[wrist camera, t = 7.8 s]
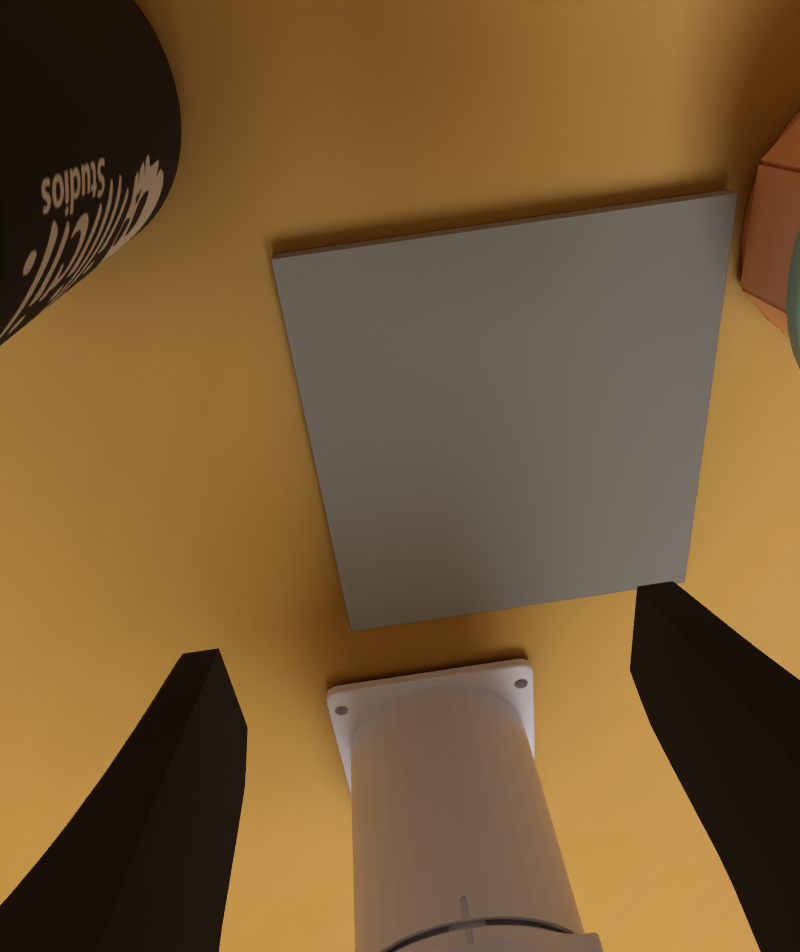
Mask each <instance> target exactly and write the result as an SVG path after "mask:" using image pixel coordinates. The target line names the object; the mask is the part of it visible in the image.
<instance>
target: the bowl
mask: <svg viewBox="0 0 800 952" xmlns="http://www.w3.org/2000/svg"><path fill="white" fill-rule="evenodd" d="M761 161H762V162H763V164H762V165H758V169H757V176H756V181H755V183H754V186H753V189H752V192H751V195H750V198H749V201H748V204H747V208H746V213H745V218H744V223H743V231H742V243H741V250H742V265H743V270H742V277H741V284H740V286H741V287H743V289H742V291H743V293H744V294H745V295H746V296H747V297H748V298H749V299H750V300H751V301H752V302H753V303H754V304H755V305H756V306H757V307H758V308H759V309H760V311H761V312H762V313H763V314H764V316H765V317H766V318H767V319H768V320H769V321H770V322H772V323H773V324H774V325H775V326H776V327H777V328H779V329H780V330H781V331H782V332H783V333H784V334H785V335H786V336H787V337H788V338H789V339H790V337H789V333H788V324H787V311H786V299H787V283H788V274H789V269H790V264H791V259H792V253H793V248H794V244H795V241H796V238H797V235H798V232H799V228H800V110H799V112H798V113H797V114H796V115H795V116H794V118H793V119H792V120H791V121H790V122H789V124H788V125H787V126H786V128H785V129H784V131H783V132H782V134H781V135H780V136H779V138H778V139H777V141H776V142H775V144H774V145H773V147H772V148H771V149H770V150H769V151H768V152H767V153H766V154H765V156H764V157H763V158H762V159H761Z"/></svg>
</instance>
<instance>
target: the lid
mask: <svg viewBox="0 0 800 952" xmlns="http://www.w3.org/2000/svg"><path fill="white" fill-rule="evenodd" d="M786 311H787V324H788V333H789V337H790V342H791V346H792V350H793V354H794V357H795V359H796V361H797V364H798V366H799V368H800V228H799V232H798V235H797V238H796V241H795V244H794V248H793V253H792V259H791V264H790V269H789V274H788V283H787V299H786Z"/></svg>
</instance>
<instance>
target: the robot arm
mask: <svg viewBox="0 0 800 952" xmlns="http://www.w3.org/2000/svg"><path fill="white" fill-rule="evenodd" d="M630 672H631V674H632V677H633V680H634V682H635V685H636V688H637V691H638V693H639V696H640V699H641V701H642V704H643V706H644V709H645V711H646V714H647V717H648V719H649V722H650V724H651V726H652V728H653V730H654V732H655V734H656V736H657V738H658V740H659V742H660V744H661V746H662V748H663V750H664V752H665V754H666V756H667V758H668V760H669V761H670V763H671V765H672V767H673V769H674V771H675V773H676V775H677V777H678V779H679V781H680V782H681V784H682V786H683V788H684V790H685V792H686V794H687V796H688V798H689V799H690V801H691V803H692V805H693V807H694V809H695V811H696V813H697V815H698V817H699V818H700V820H701V822H702V824H703V826H704V828H705V830H706V832H707V834H708V836H709V837H710V839H711V841H712V843H713V845H714V847H715V849H716V851H717V853H718V855H719V857H720V859H721V861H722V863H723V865H724V867H725V869H726V871H727V873H728V876H729V878H730V880H731V882H732V884H733V886H734V889H735V891H736V894H737V896H738V898H739V901H740V903H741V906H742V908H743V910H744V913H745V915H746V918H747V920H748V922H749V925H750V927H751V929H752V932H753V934H754V937H755V939H756V941H757V944H758V946H759V949H760V951H761V952H800V680H799V679H797V678H796V677H795V676H793V675H792V674H791V673H789V672H788V671H787V670H785V669H784V668H783V667H781V666H780V665H779V664H777V663H776V662H775V661H773V660H772V659H771V658H769V657H768V656H767V655H765V654H764V653H763V652H761V651H760V650H759V649H757V648H756V647H755V646H754V645H752V644H751V643H750V642H748V641H747V640H746V639H744V638H743V637H742V636H741V635H739V634H738V633H737V632H736V631H734V630H733V629H732V628H731V627H729V626H728V625H727V624H726V623H724V622H723V621H722V620H721V619H719V618H718V617H717V616H716V615H714V614H713V613H712V612H711V611H709V610H708V609H707V608H706V607H704V606H703V605H702V604H701V603H699V602H698V601H697V600H696V599H694V598H693V597H692V596H691V595H690V594H688V593H687V592H686V591H684V590H683V589H682V588H681V587H679V586H678V585H677V584H676V583H674V582H673V581H670V582H663V583H656V584H650V585H643V586H637V596H636V607H635V618H634V630H633V641H632V652H631V663H630ZM519 679H522V680H519ZM517 680H519V681H517ZM327 706H328V710H329V714H330V718H331V722H332V725H333V729H334V733H335V737H336V741H337V744H338V748H339V752H340V756H341V760H342V764H343V767H344V771H345V775H346V779H347V783H348V786H349V790H350V794H351V798H352V836H353V878H354V919H355V952H603V948H602V945H601V942H600V939H599V935H598V934H596V933H586V934H585V933H584V930H583V927H582V923H581V920H580V916H579V913H578V909H577V906H576V903H575V899H574V896H573V892H572V889H571V885H570V882H569V879H568V875H567V872H566V868H565V865H564V861H563V858H562V854H561V851H560V848H559V844H558V841H557V837H556V834H555V830H554V827H553V824H552V820H551V817H550V813H549V810H548V806H547V803H546V800H545V796H544V793H543V789H542V786H541V782H540V779H539V776H538V772H537V769H536V765H535V731H534V682H533V669H532V666H531V663H530V662H529V661H528V660H525V659H513V660H506V661H500V662H493V663H486V664H480V665H473V666H466V667H460V668H453V669H446V670H439V671H433V672H426V673H419V674H413V675H406V676H399V677H393V678H386V679H379V680H372V681H366V682H359V683H352V684H346V685H339V686H335V687H332V688H331V689H329V690H328V692H327ZM339 706H344V707H339ZM246 753H247V725H246V722H245V719H244V716H243V714H242V711H241V708H240V705H239V703H238V700H237V697H236V695H235V692H234V689H233V686H232V684H231V681H230V678H229V675H228V673H227V670H226V667H225V664H224V662H223V659H222V656H221V653H220V651H219V649H212V650H205V651H198V652H192V653H185V654H183V655H182V656H181V657H180V658H179V660H178V661H177V663H176V664H175V666H174V668H173V669H172V671H171V672H170V674H169V675H168V677H167V679H166V680H165V682H164V684H163V685H162V687H161V688H160V690H159V692H158V693H157V695H156V696H155V698H154V699H153V701H152V703H151V704H150V706H149V707H148V709H147V711H146V712H145V714H144V715H143V717H142V718H141V720H140V721H139V723H138V725H137V726H136V728H135V729H134V731H133V732H132V734H131V735H130V737H129V738H128V740H127V741H126V743H125V744H124V745H123V747H122V748H121V750H120V751H119V753H118V754H117V756H116V757H115V759H114V760H113V762H112V763H111V765H110V766H109V768H108V769H107V771H106V772H105V773H104V775H103V776H102V778H101V779H100V781H99V782H98V783H97V785H96V786H95V787H94V789H93V790H92V791H91V793H90V794H89V796H88V797H87V798H86V800H85V801H84V802H83V804H82V805H81V806H80V808H79V809H78V810H77V812H76V813H75V815H74V816H73V817H72V819H71V820H70V821H69V823H68V824H67V825H66V827H65V828H64V829H63V831H62V832H61V833H60V834H59V836H58V837H57V838H56V839H55V841H54V842H53V843H52V845H51V846H50V847H49V848H48V850H47V851H46V852H45V853H44V855H43V856H42V857H41V858H40V859H39V861H38V862H37V863H36V864H35V866H34V867H33V868H32V869H31V870H30V872H29V873H28V874H27V875H26V876H25V877H24V879H23V880H22V881H21V882H20V883H19V885H18V886H17V887H16V888H15V889H14V891H13V892H12V893H11V894H10V895H9V896H8V897H7V899H6V900H5V901H4V902H3V903H2V904H1V905H0V952H219V945H220V938H221V930H222V923H223V917H224V911H225V905H226V899H227V893H228V887H229V881H230V875H231V869H232V863H233V857H234V851H235V845H236V839H237V833H238V827H239V820H240V814H241V808H242V802H243V795H244V788H245V773H246Z"/></svg>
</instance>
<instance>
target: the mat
mask: <svg viewBox="0 0 800 952" xmlns="http://www.w3.org/2000/svg"><path fill="white" fill-rule="evenodd" d="M737 196H738V193H736V192H732V191H729V190H720V191H713V192H706V193H699V194H692V195H685V196H678V197H671V198H664V199H657V200H650V201H643V202H636V203H629V204H622V205H615V206H608V207H601V208H594V209H587V210H580V211H573V212H566V213H559V214H552V215H545V216H538V217H531V218H524V219H517V220H510V221H502V222H495V223H488V224H481V225H474V226H467V227H460V228H453V229H446V230H439V231H432V232H425V233H418V234H411V235H404V236H397V237H390V238H383V239H376V240H369V241H362V242H355V243H348V244H341V245H334V246H327V247H320V248H313V249H306V250H299V251H292V252H284V253H277V254H273V255H272V258H271V262H272V266H273V271H274V276H275V280H276V285H277V290H278V294H279V299H280V303H281V308H282V313H283V317H284V322H285V327H286V331H287V336H288V341H289V345H290V350H291V355H292V359H293V364H294V368H295V373H296V378H297V382H298V387H299V392H300V396H301V401H302V406H303V410H304V415H305V419H306V424H307V429H308V433H309V438H310V443H311V447H312V452H313V457H314V461H315V466H316V471H317V475H318V480H319V484H320V489H321V494H322V498H323V503H324V508H325V512H326V517H327V522H328V526H329V531H330V536H331V540H332V545H333V549H334V554H335V559H336V563H337V568H338V573H339V577H340V582H341V587H342V591H343V596H344V601H345V605H346V610H347V614H348V619H349V624H350V628H351V632H352V631H359V630H366V629H373V628H379V627H386V626H393V625H400V624H406V623H413V622H420V621H427V620H433V619H440V618H447V617H454V616H460V615H467V614H474V613H480V612H487V611H494V610H501V609H507V608H514V607H521V606H528V605H534V604H541V603H548V602H555V601H561V600H568V599H575V598H582V597H588V596H595V595H602V594H608V593H615V592H622V591H629V590H635V589H637V586H643V585H650V584H656V583H663V582H670V581H673V582H674V583H683V582H685V576H686V569H687V562H688V554H689V547H690V540H691V532H692V525H693V518H694V511H695V503H696V496H697V489H698V481H699V474H700V467H701V459H702V452H703V445H704V437H705V430H706V423H707V415H708V408H709V401H710V393H711V386H712V379H713V372H714V364H715V357H716V350H717V342H718V335H719V328H720V320H721V313H722V306H723V298H724V291H725V284H726V276H727V269H728V262H729V255H730V247H731V240H732V233H733V225H734V218H735V211H736V203H737Z"/></svg>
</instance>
